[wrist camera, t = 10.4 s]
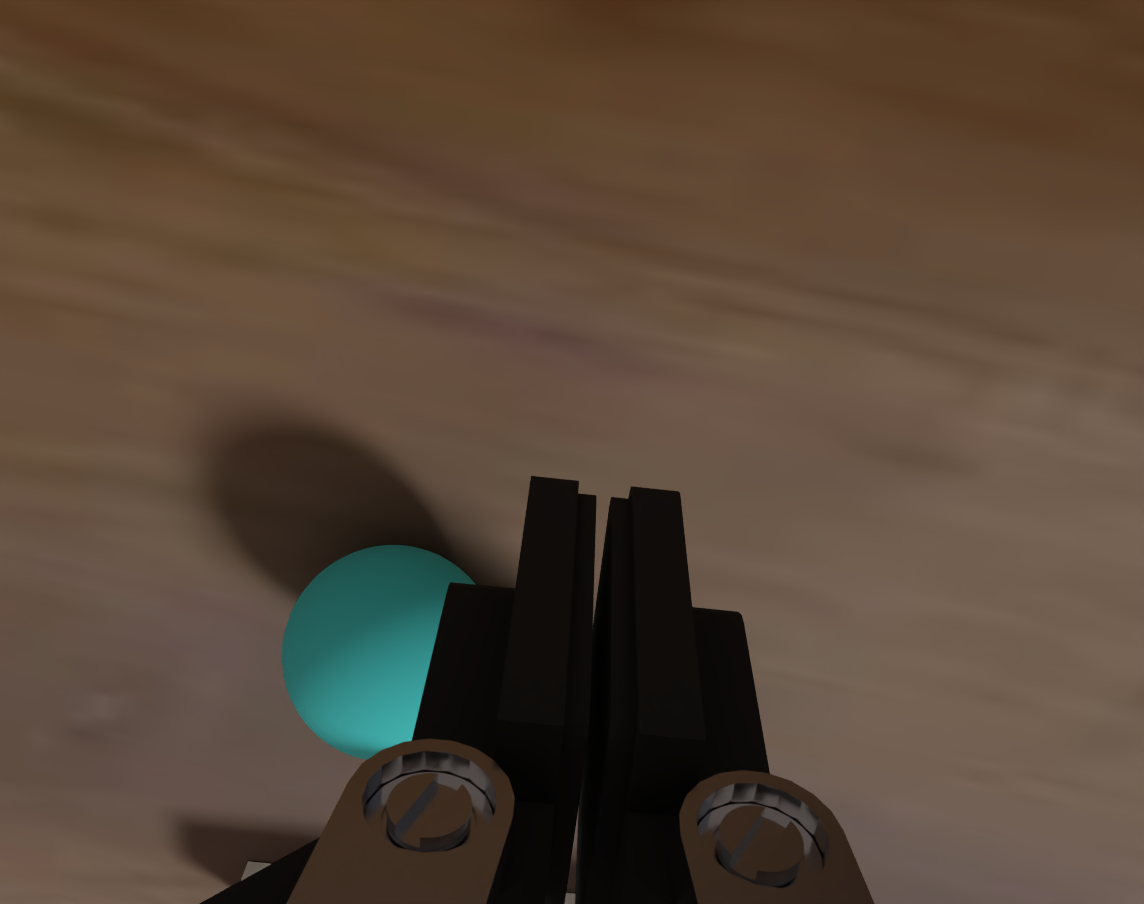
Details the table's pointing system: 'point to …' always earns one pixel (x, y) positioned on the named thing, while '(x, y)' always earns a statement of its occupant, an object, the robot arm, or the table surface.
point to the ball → (366, 645)
